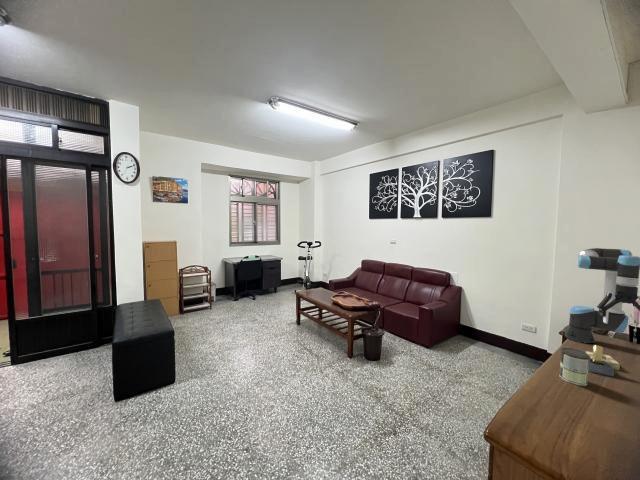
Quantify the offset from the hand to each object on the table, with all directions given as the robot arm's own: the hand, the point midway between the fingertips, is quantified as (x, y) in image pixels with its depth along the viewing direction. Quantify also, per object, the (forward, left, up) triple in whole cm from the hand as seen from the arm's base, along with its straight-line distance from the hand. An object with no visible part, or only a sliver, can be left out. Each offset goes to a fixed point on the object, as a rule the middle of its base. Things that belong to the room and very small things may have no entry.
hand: (623, 325), depth 137 cm
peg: (+1, -9, -26) cm, 28 cm away
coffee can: (+22, -24, -26) cm, 42 cm away
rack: (-11, -3, -26) cm, 28 cm away
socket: (+1, -9, -26) cm, 28 cm away
